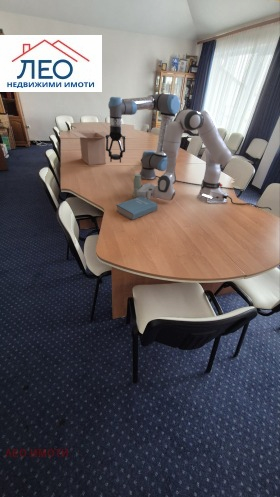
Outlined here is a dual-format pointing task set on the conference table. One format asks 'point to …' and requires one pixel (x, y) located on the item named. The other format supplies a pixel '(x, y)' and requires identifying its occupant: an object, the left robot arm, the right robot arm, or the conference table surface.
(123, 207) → the book
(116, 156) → the lid
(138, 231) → the conference table surface
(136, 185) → the jar
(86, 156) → the box
